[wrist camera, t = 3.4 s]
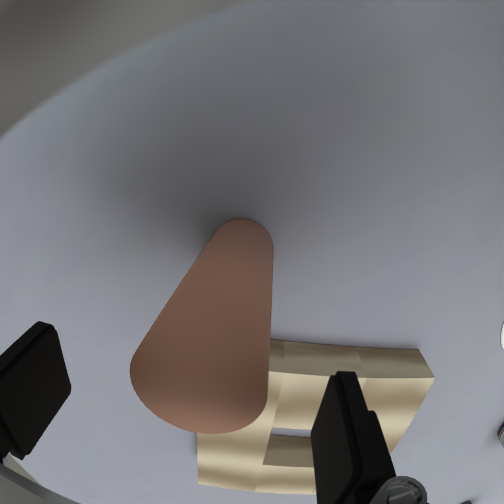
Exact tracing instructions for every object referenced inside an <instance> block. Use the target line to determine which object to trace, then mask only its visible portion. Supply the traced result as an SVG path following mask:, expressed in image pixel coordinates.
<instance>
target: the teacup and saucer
mask: <svg viewBox="0 0 504 504" xmlns="http://www.w3.org/2000/svg"><path fill="white" fill-rule="evenodd" d="M501 345H502V347H503V349H504V324H503V327H502V331H501Z"/></svg>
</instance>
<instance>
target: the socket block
mask: <svg viewBox="0 0 504 504" xmlns="http://www.w3.org/2000/svg"><path fill="white" fill-rule="evenodd" d="M337 371H354V372H356V374H357V377H358V380H359V383H360V386H361V390H362V393H363V396H364V399H365V402H366V405H367V408H368V410H373V411H375V412H376V414H377V416H378V419H379V422H380V425H381V429H382V432H383V435H384V438H385V441H386V444H387V447H388V450H389V453H390V454H391V452H392V451H393V449H394V448H395V446H396V445H397V443H398V442H399V440H400V439H401V437H402V436H403V434H404V432H405V431H406V429H407V427H408V426H409V424H410V422H411V421H412V419H413V417H414V416H415V414H416V412H417V411H418V409H419V407H420V405H421V403H422V402H423V400H424V398H425V396H426V394H427V392H428V390H429V389H430V387H431V385H432V383H433V381H434V379H435V377H434V375H433V373H432V371H431V370H430V368H429V366H428V365H427V363H426V361H425V359H424V358H423V356H422V354H421V353H420V351H419V349H387V348H367V347H351V346H337V345H324V344H312V343H302V342H292V341H282V340H273V339H270V357H269V378H268V396H267V403H266V406H265V408H264V410H263V412H262V413H261V415H260V416H259V417H258V418H257V419H256V420H255V421H254V422H253V423H251V424H250V425H248V426H246V427H244V428H242V429H240V430H237V431H234V432H229V433H223V434H203V433H197V458H198V484H203V485H209V486H215V487H221V488H228V489H236V490H245V491H254V492H266V493H281V494H316V484H315V474H314V464H313V454H312V444H311V437H293V436H279V435H270V433H271V429H272V427H277V428H289V429H306V430H312V427H313V424H314V421H315V418H316V416H317V413H318V410H319V407H320V404H321V401H322V398H323V395H324V392H325V389H326V386H327V383H328V380H329V377H330V376H331V375H335V374H336V372H337Z"/></svg>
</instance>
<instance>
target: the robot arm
mask: <svg viewBox="0 0 504 504" xmlns="http://www.w3.org/2000/svg"><path fill="white" fill-rule="evenodd" d="M70 392H71V383H70V380H69V377H68V373H67V369H66V366H65V362H64V358H63V354H62V350H61V346H60V341H59V337H58V333H57V331H56V330H55V328H54V326H53V325H51V324H48V323H44V322H41V321H38V322H36V323H35V324H34V325H33V326H32V327H31V328H30V329H28V330H27V331H26V332H25V333H24V334H23V335H22V336H21V337H20V338H19V339H17V340H16V341H15V342H14V343H13V344H12V345H11V346H10V347H9V348H8V349H7V350H6V351H5V352H4V353H3V354H1V355H0V504H80V503H77V502H75V501H73V500H70V499H68V498H66V497H63V496H61V495H59V494H57V493H55V492H53V491H50V490H48V489H46V488H44V487H42V486H40V485H38V484H36V483H34V482H32V481H31V480H29V479H27V478H25V477H23V476H21V475H20V474H18V473H16V472H14V471H13V470H11V469H9V465H8V459H7V454H8V453H9V452H10V453H11V455H13V456H15V457H17V458H18V459H20V460H23V459H24V457H25V455H28V454H30V453H31V451H32V450H33V448H34V447H35V445H36V443H37V442H38V440H39V439H40V437H41V436H42V434H43V433H44V431H45V430H46V428H47V427H48V425H49V424H50V422H51V421H52V419H53V418H54V416H55V415H56V414H57V412H58V411H59V409H60V408H61V406H62V405H63V403H64V402H65V400H66V399H67V398H68V396H69V395H70ZM311 444H312V454H313V464H314V474H315V484H316V495H317V504H429V503H427V492H426V490H425V488H424V486H423V485H422V484H421V483H420V482H419V481H417V480H416V479H414V478H411V477H408V476H396V473H395V470H394V466H393V463H392V460H391V457H390V453H389V450H388V447H387V444H386V441H385V438H384V435H383V432H382V429H381V425H380V422H379V419H378V416H377V414H376V412H375V411H373V410H368V408H367V405H366V402H365V399H364V396H363V393H362V390H361V386H360V383H359V380H358V377H357V374H356V372H354V371H337V372H336V374H335V375H331V376H330V377H329V380H328V383H327V386H326V389H325V392H324V395H323V398H322V401H321V404H320V407H319V410H318V413H317V416H316V418H315V421H314V424H313V427H312V430H311Z"/></svg>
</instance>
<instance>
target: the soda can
mask: <svg viewBox="0 0 504 504" xmlns="http://www.w3.org/2000/svg"><path fill="white" fill-rule="evenodd" d="M499 440H500V442H501V444H502V446H503V447H504V426H503V429H502V430H501V432H500V434H499Z"/></svg>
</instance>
